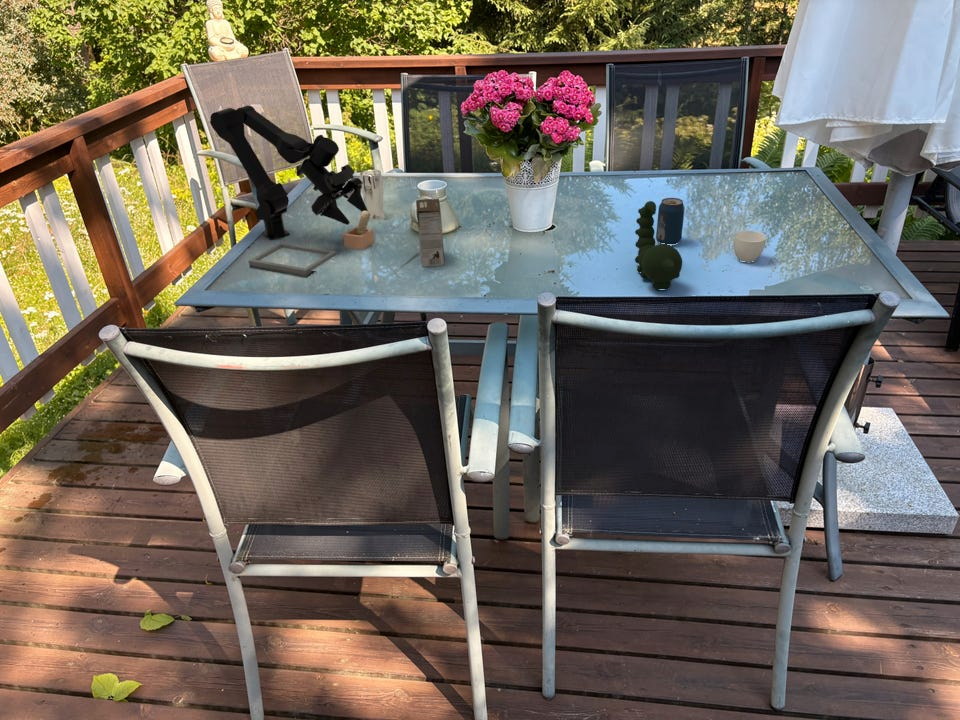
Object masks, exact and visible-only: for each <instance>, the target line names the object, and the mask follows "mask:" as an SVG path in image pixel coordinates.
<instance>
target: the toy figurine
mask: <svg viewBox="0 0 960 720" xmlns="http://www.w3.org/2000/svg"><path fill="white" fill-rule="evenodd" d="M656 212H657V205H656V203H655V202H654V201H653V200H649V201H646V202H645V203H644V206H642V207H641V208H638V210H637V213H638V214H639V217H638V218H636V221H635V222H636V224H638V226H639V228H638V229H635V230H634V234H635V235H637V237H638V239H637V241H636V242H635V244H634V245H635V247H636V248H637V249H638V251H637V256H635V258H634V262H635V263H636V264H638V266H637V269H636V271H638V272H641V273H639V275H640V278H641V279H643V280H648V279H649V280H650V281H652V286H653V289H654V288H655V290H656V289H667V290H669V289H670V288H671V285H672V282H671V281H674V280H675V279H678V278H679V277H680V275H681V274H680V272H681V271H682V267H683V258H682V256H681V254H680V251H678V249H676V248H675V247H674V246H670V245H667V244H659V243H658V244H656V238H655V237H654V236H655V228H654V227H653V226H654V223H655V218H654V217H653V216H654V215H655V214H656ZM638 272H637V273H638ZM668 288H669V289H668Z"/></svg>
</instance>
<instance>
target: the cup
mask: <svg viewBox="0 0 960 720" xmlns="http://www.w3.org/2000/svg"><path fill="white" fill-rule="evenodd" d="M766 240H767V235H766V234H765V233H762V232H759V231H755V230H741V231H738V232H735V234H734V239H733V250H734V254H735V256H736V258H737V260H738V259H739V260H741V261H745V262H752V261H754V262H755V260H756V261H757V260H758V259H759V258H760V256H761V255H762V253H763V251H764V249H765V246H766V242H767V241H766ZM739 260H738V261H739Z"/></svg>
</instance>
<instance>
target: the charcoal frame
mask: <svg viewBox="0 0 960 720" xmlns="http://www.w3.org/2000/svg"><path fill="white" fill-rule="evenodd" d="M283 248H284V249H290V250H295V251H303V252H309V253H315V254H320V255H321V254H322V255H324V256H322V257H319V259H317V260H316V261H315V262H313V263H311V264H310V265H308V266H306V267H298V266H293V265H288V264H284V263H283V264H282V263H275V262H269V261H266V260H262V259H264V258H266V257H268V256H269V255H271V254H274V253H275V252H277V251H279V250H280V249H283ZM336 255H338V253H337V251H336V250H330V249H325V248H318V247H311V246H306V245H300V244H293V243H287V242H281V241H280V242H279V243H277V244H275V245H273V246H271V247H270V248H268V249H267V250H265V251H262V252H261V253H259V254H256V256H254V257H252V258H250V259H249V260H247V261H248V265H249V268H252V269H253V268H254V269H258V270H264V271H267V272H268V271H270V272H275V273H279V272H280V273H279V274H285V275H291V276H295V277H296V276H297V277H301V278H309V277H310V276H312V275H313V274H314V272H315V273H316V272H317V270H316V268H318V267H319V266H321V265H323V264H324V263H326V262H327V261H329V260H330V259H332V258H334V257H335V256H336ZM314 269H315V270H314ZM311 274H312V275H311ZM308 276H309V277H308Z"/></svg>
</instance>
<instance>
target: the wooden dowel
mask: <svg viewBox="0 0 960 720" xmlns="http://www.w3.org/2000/svg"><path fill="white" fill-rule="evenodd" d="M369 221H370V212H368V211H361V215H360V218H359V221H358V224H357V225H358V226H357V227H358V228H357V231H356V235H359V236H360V235H362V234H363V233H365V231H366V228H367V227H368V224H369ZM367 229H368V228H367Z"/></svg>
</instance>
